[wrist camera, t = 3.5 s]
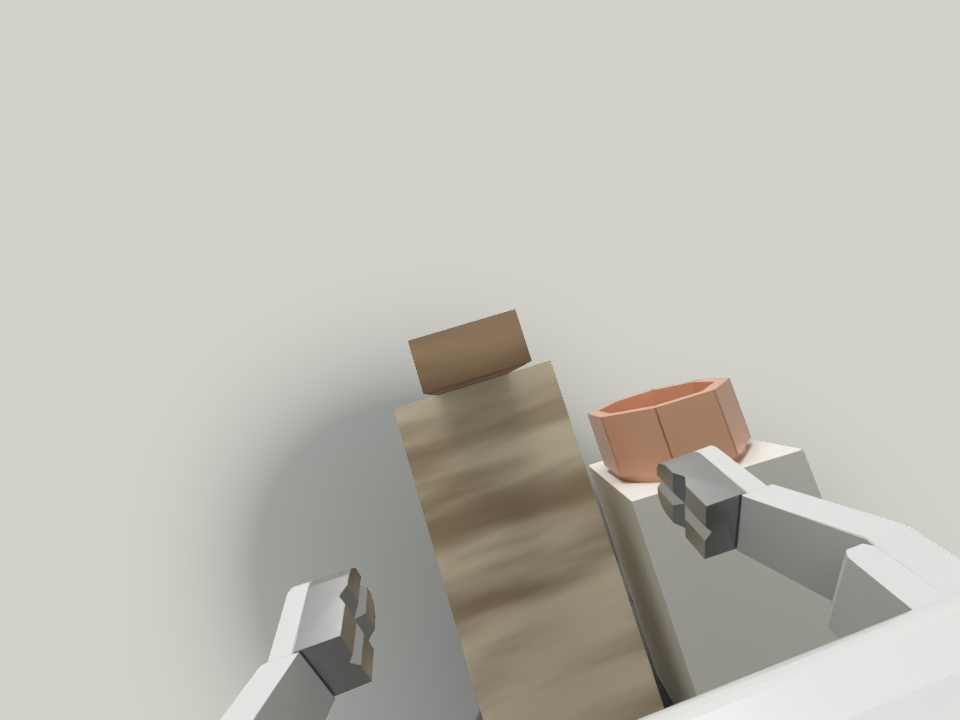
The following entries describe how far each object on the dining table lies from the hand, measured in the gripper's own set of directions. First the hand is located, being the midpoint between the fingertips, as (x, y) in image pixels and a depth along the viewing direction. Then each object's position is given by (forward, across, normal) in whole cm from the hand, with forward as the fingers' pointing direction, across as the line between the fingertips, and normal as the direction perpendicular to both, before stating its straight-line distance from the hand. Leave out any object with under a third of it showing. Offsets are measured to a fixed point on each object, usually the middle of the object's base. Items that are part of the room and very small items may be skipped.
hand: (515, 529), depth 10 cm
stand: (+5, -1, +28) cm, 28 cm away
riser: (+3, -13, +27) cm, 30 cm away
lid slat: (+15, -1, +4) cm, 15 cm away
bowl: (+11, -13, +12) cm, 21 cm away
